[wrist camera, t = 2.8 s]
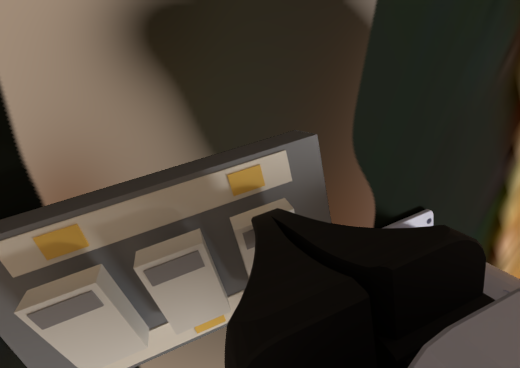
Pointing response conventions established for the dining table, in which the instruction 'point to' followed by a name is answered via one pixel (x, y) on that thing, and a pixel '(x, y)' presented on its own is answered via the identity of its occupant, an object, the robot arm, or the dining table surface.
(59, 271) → the switch unit
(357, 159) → the dining table surface
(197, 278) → the switch
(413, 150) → the dining table surface
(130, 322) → the switch
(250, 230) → the switch
